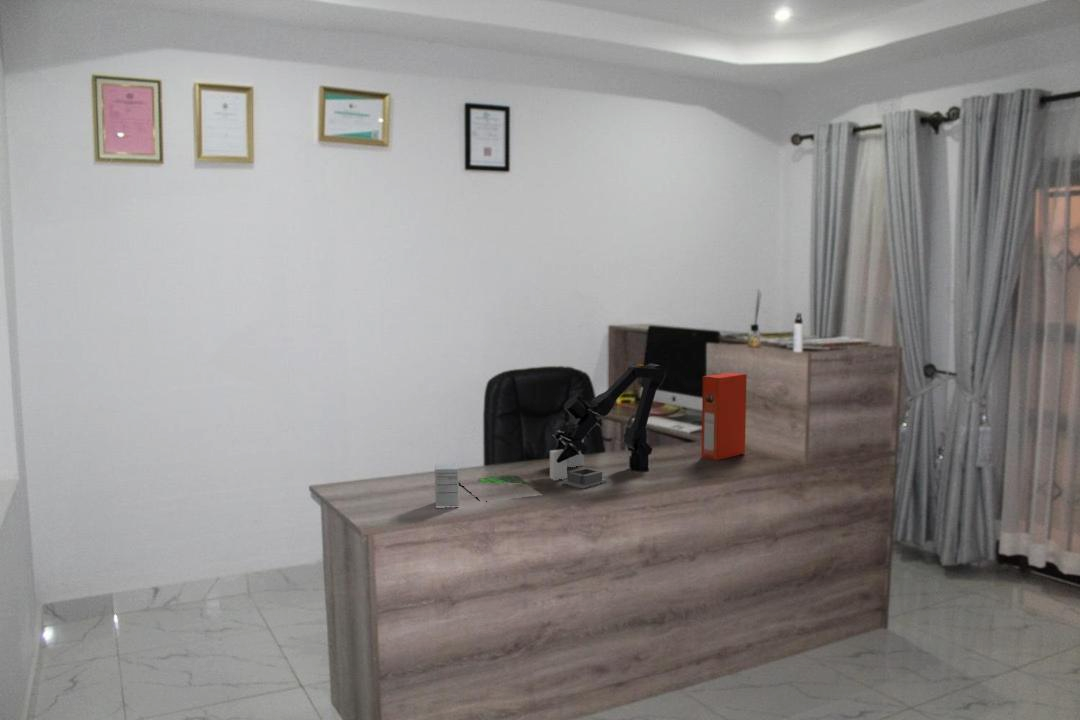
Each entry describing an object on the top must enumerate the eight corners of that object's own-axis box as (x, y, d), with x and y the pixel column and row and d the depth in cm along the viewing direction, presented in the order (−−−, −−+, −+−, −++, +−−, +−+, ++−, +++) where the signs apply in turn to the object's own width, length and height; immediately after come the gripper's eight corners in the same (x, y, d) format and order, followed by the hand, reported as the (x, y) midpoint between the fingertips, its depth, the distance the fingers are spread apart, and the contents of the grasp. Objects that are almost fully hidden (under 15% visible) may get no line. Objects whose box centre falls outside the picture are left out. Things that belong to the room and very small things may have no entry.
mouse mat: (545, 496, 283) (545, 493, 283) (481, 504, 275) (481, 500, 275) (515, 477, 308) (515, 474, 308) (456, 483, 300) (456, 480, 300)
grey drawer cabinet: (435, 502, 275) (435, 463, 274) (459, 501, 276) (458, 463, 275) (434, 508, 268) (434, 469, 267) (458, 508, 269) (458, 468, 267)
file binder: (700, 457, 337) (702, 376, 334) (728, 450, 348) (730, 372, 345) (717, 460, 331) (719, 378, 327) (744, 454, 342) (747, 374, 339)
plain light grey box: (562, 476, 307) (562, 449, 306) (566, 478, 304) (566, 451, 303) (549, 478, 305) (549, 450, 304) (554, 480, 302) (554, 452, 301)
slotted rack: (587, 477, 306) (587, 466, 305) (606, 482, 299) (606, 471, 299) (563, 483, 298) (563, 472, 297) (582, 488, 291) (582, 477, 291)
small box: (584, 465, 324) (584, 431, 322) (571, 468, 320) (571, 433, 318) (569, 461, 330) (569, 428, 328) (557, 464, 326) (557, 430, 324)
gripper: (557, 408, 312) (529, 441, 309) (580, 417, 295) (551, 451, 292) (576, 428, 316) (549, 460, 313) (600, 437, 299) (572, 472, 296)
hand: (554, 460), depth 303 cm, fingers open, 4 cm apart
